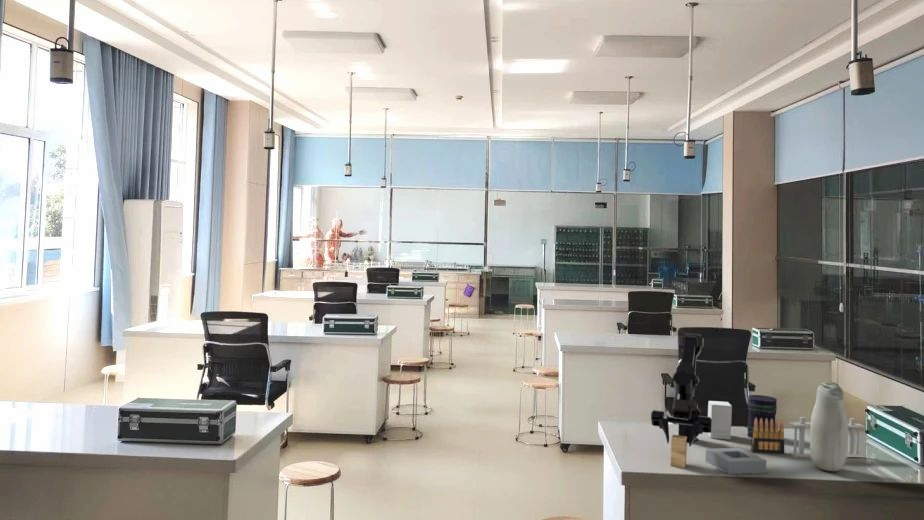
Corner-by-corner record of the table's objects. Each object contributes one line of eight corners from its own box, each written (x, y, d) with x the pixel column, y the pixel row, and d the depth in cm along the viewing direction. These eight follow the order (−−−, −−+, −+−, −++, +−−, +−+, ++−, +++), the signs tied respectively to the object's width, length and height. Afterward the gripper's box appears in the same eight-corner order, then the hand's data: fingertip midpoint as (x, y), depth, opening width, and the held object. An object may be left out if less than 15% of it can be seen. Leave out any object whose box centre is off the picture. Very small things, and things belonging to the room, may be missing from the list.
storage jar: (780, 441, 245) (782, 401, 244) (753, 440, 245) (755, 400, 244) (768, 434, 255) (769, 395, 254) (742, 433, 255) (744, 394, 254)
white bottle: (852, 473, 210) (856, 386, 210) (826, 476, 207) (830, 387, 207) (827, 463, 220) (831, 379, 219) (802, 465, 217) (805, 380, 216)
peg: (671, 462, 216) (672, 434, 216) (685, 464, 215) (687, 436, 214) (670, 465, 212) (671, 438, 212) (684, 468, 211) (686, 440, 210)
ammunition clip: (782, 452, 231) (783, 418, 231) (784, 454, 229) (786, 419, 229) (750, 450, 232) (752, 416, 232) (752, 452, 230) (754, 418, 230)
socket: (705, 460, 219) (706, 448, 219) (741, 459, 221) (741, 447, 221) (728, 474, 206) (729, 461, 206) (766, 472, 208) (766, 460, 208)
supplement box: (731, 440, 245) (732, 406, 244) (709, 438, 246) (711, 404, 246) (727, 434, 252) (728, 401, 252) (706, 432, 253) (708, 400, 253)
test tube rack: (856, 454, 232) (858, 417, 232) (865, 458, 228) (866, 420, 227) (787, 453, 231) (788, 415, 231) (794, 457, 226) (795, 418, 226)
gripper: (652, 385, 220) (647, 426, 210) (712, 392, 213) (709, 435, 203) (654, 404, 228) (649, 444, 218) (712, 411, 220) (709, 453, 210)
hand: (678, 444), depth 212 cm, fingers open, 6 cm apart
